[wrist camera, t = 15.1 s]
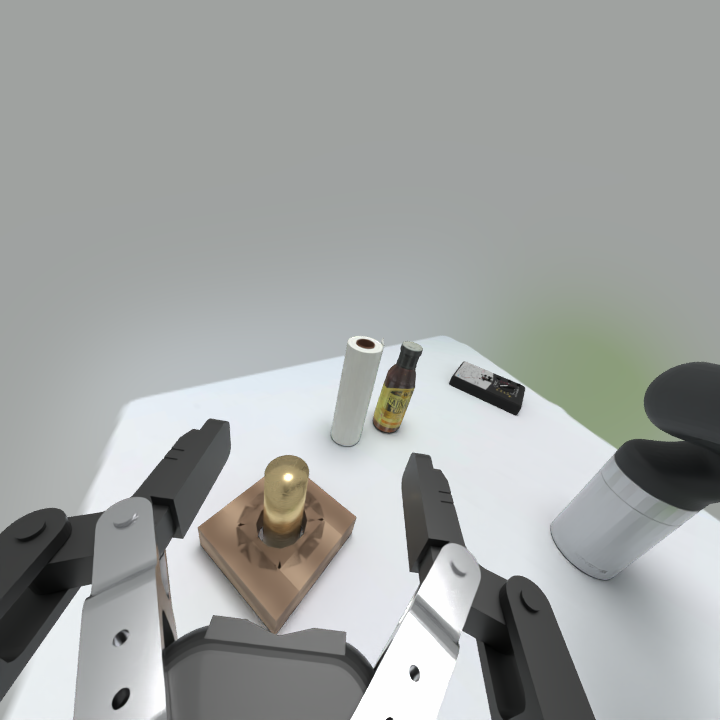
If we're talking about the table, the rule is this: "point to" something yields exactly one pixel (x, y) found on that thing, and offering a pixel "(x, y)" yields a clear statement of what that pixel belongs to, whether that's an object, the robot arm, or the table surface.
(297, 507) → the yellow cylinder peg
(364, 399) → the paper towel roll
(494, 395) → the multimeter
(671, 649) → the table surface
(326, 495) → the jig
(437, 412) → the table surface
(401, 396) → the sauce bottle
